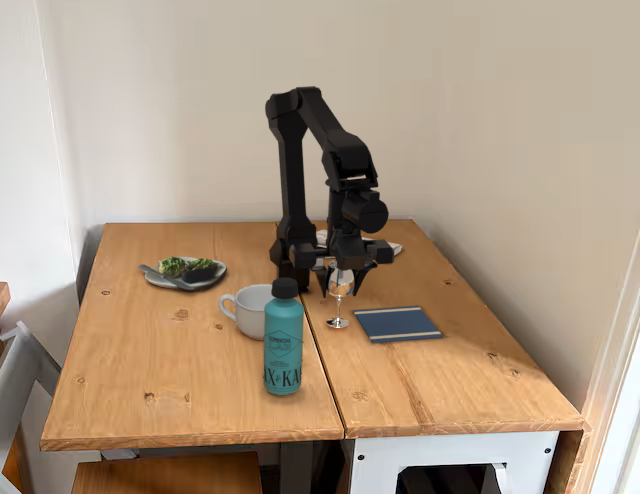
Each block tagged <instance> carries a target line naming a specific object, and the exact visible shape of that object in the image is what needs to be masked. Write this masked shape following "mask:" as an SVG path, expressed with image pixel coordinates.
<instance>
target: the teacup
mask: <svg viewBox="0 0 640 494" xmlns="http://www.w3.org/2000/svg"><path fill="white" fill-rule="evenodd" d="M271 290H272V284H270V283H269V284H268V283H259V284H257V283H256V284H251V285H247V286H244V287H242V288H241V289H239V290H237V292H236V293H235V295H234V294H231V293H223V294H222V295H221V296H220V297H219V298H218V303H217V305H218V309H219V311H220V312H221V313H222V314H223V315H224V316H226V317H227V318H229V319H231V320H232V321H233V323H235V324H237V327H238V329H239V331H241V332H242V333H243V334H244V335H246V336H247V337H249V338H250V339H253V340H256V341H264V339H263V336H264V319H265V312H264V307H265V305H266V304H267V303H268V302H269V301H271V300H272V299H274V298H275V297H273V296H272V294H271ZM227 300H228V301H230V302H231V303H232V305H233V307H234V309H235V313H234V312H232V311H231V310H229V309H227V307H226V306H225V304H224V302H225V301H227Z"/></svg>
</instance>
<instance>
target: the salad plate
mask: <svg viewBox="0 0 640 494" xmlns="http://www.w3.org/2000/svg"><path fill="white" fill-rule="evenodd" d="M137 266H138V269H139V271H142V272H144V273H145V274H144V278H145V280H147V282H148V283H150V284H152V285H155V286H157V287H160V288H164V289H169V290H175V291H179V292H185V293H200V292H205V291H207V290H208V291H209V290H210V289H213V288H214V287H215V286H217V284H219V283H220V282H221V281H222V280H223V279H224V278H225V276H226V274H227V272H228V267H227V265H226V264H225V263H224V262H222V261H220V260H215V259H209V258H205V257H204V258H203V257H199V258H195V257H190V256H181V255H180V256H169V257H167V258H164V259H162V260H161V259H158V263H157V264H156V265H155V266H153V267H150V266H148V265H146V264H139V265H137Z"/></svg>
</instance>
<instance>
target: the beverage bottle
mask: <svg viewBox="0 0 640 494" xmlns="http://www.w3.org/2000/svg"><path fill="white" fill-rule="evenodd" d="M271 285H272V290H271V294H272V296H273V297H275V298H274V299H272V300H271V301H269V302H268V303H267V304H266V305H265V307H264V312H265V319H264V336H263V339H264V340H263V344H262V357H263V374H262V380H263V386H264V388H265V390H266V391H268V392H269V393H271V394H274V395H278V396H280V395H281V396H285V395H291V394H295V393H296V392H298V391H299V390H300V388H301V386H302V383H303V382H302V381H303V378H302V375H303V368H304V366H303V362H304V361H303V360H304V358H303V352H304V349H303V347H304V318H305V317H304V316H305V307H304V305H303V304H302V303H301V302H300V301H299V300H297V299H296V298H297V297H298V296H299V293H298V283H297V281H296V280H294V279H292V278H278V279H276V278H275V279H273V280H272V282H271Z"/></svg>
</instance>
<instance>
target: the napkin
mask: <svg viewBox="0 0 640 494" xmlns="http://www.w3.org/2000/svg"><path fill="white" fill-rule="evenodd" d="M352 313H353V315H354V317H355V318H356V319H357V321H358V323H359V324H360V326H361V327H362V329H363V331H364V332H365V334H366V335H367V337H368V339H369V340H370V341H371V344H380V343H389V342H390V343H391V342H404V341H417V340H429V339H442V338H444V336H443V334H442V333H441V332H440V330H439V329H438V328H437V327H436V326H435V324H434V323H433V322H432V321H431V320H430V318H429V317H428V316H427V315H426V313H424V311H423V310H422V308H421V307H420V306H419V305H408V306H394V307H393V306H392V307H380V308H367V309H366V308H365V309H353V310H352Z"/></svg>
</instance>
